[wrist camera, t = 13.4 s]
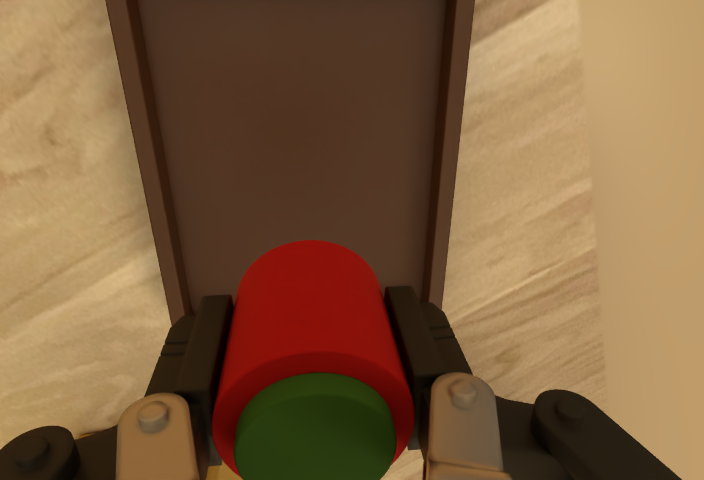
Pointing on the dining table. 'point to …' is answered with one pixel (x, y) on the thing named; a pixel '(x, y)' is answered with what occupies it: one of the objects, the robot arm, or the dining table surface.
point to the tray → (295, 132)
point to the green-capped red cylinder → (311, 371)
